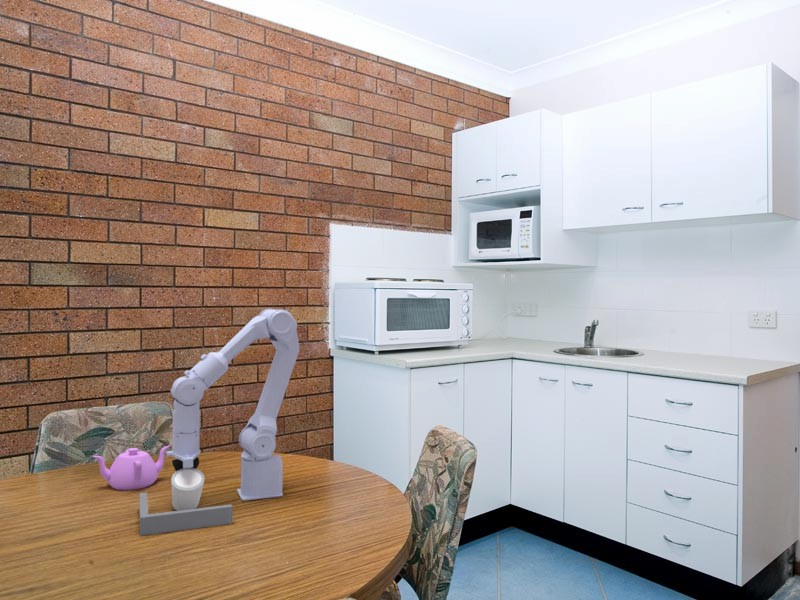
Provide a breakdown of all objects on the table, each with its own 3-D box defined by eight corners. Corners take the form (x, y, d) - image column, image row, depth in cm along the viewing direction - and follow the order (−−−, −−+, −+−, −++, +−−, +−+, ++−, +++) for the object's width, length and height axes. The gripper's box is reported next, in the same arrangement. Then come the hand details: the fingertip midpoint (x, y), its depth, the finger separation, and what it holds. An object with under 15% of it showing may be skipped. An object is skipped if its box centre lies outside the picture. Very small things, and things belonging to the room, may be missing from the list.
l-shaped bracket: (221, 499, 140) (222, 484, 140) (232, 523, 126) (232, 506, 126) (139, 509, 133) (139, 493, 133) (140, 535, 119) (140, 517, 119)
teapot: (170, 478, 156) (170, 444, 156) (133, 495, 143) (133, 458, 143) (130, 474, 159) (131, 440, 159) (91, 490, 146) (91, 453, 146)
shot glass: (191, 518, 131) (194, 493, 128) (162, 508, 132) (164, 483, 129) (207, 497, 137) (210, 473, 134) (179, 487, 138) (181, 463, 135)
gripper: (165, 425, 141) (164, 484, 141) (168, 439, 128) (167, 504, 128) (197, 423, 144) (196, 481, 144) (203, 437, 131) (202, 500, 131)
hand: (185, 491), depth 136 cm, fingers closed, pressing on shot glass
